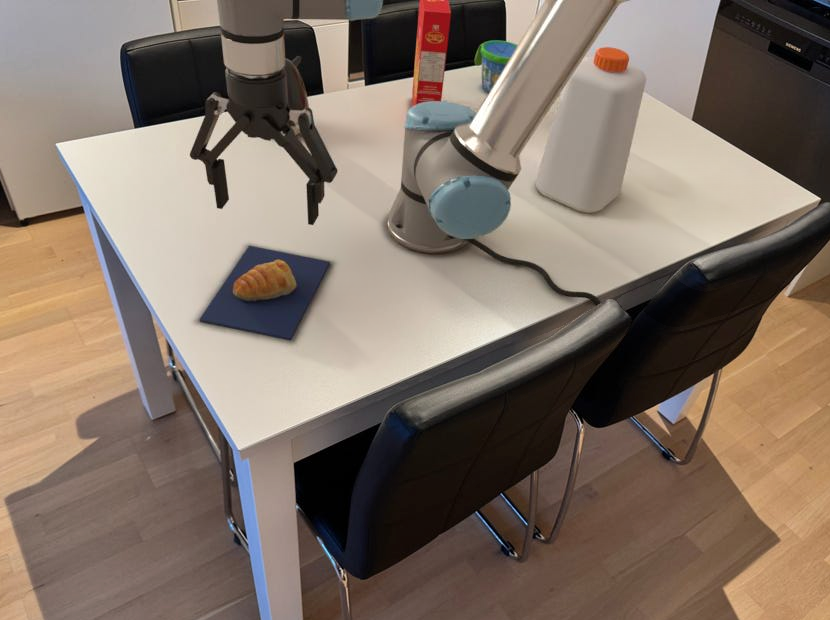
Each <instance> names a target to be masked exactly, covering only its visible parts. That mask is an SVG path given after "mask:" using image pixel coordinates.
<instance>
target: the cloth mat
mask: <svg viewBox="0 0 830 620" xmlns="http://www.w3.org/2000/svg"><path fill="white" fill-rule="evenodd" d="M278 259H279V260H282V261H284V262H286V264H287V265H288V266H289V268H290V269H291V272H292V275H293V276H294V278H295V281H296V288H295V289H294V290H293V291H292V292H291V293H289V294H287V295H281V296H280V297H276V298H272V299H271V298H270V299H268V300H256V301H246V300H243V299H240V298H238V297H237V296H235V295H234V293H233V286H234V282H235V281H237V280H238V278H240V277H241V276H242V275H244V274H246V273H247V272H248V271H250V270H251V269H253V268H254V267H255V266H257V265H262V264H264V263H270V262H274V261H275V260H278ZM330 265H331V261H329V260H328V261H327V260H324V259H320V258H319V259H318V258H314V257H309V256H303V255H298V254H293V253H290V252H289V253H288V252H283V251H278V250H274V249H268V248H263V247H258V246H253V245H248V246H247V248H246V249H245V251H244V252H243V254H242V255H241V257H240V258H239V260H238V261H237V262H236V264H235V266H234V267H233V268H232V270H231V272H230V273H229V274H228V276H227V278H226V279H225V281H224V282H223V284H222V285H221V286H220V288H219V290H218V291H217V293H216V294H215V295H214V297H213V298H212V300H211V302H210V303H209V305H208V306H207V307H206V309H205V310H204V312H203V313H202V315H201V316H200V318H199V322H201V323H205V324H210V325H215V326H220V327H224V328H230V329H235V330H240V331H245V332H248V333H249V332H250V333H253V334H260V335H262V336H263V335H264V336H268V337H273V338H278V339H282V340H287V341H291V340H292V338H293V337H294V335H295V333H296V331H297V329H298V327H299V325H300V323H301V321H302V319H303V317H304V315H305V313H306V311H307V309H308V307H309V305H310V303H311V302H312V299H313V298H314V295H315V293H316V291H317V290H318V288H319V286H320V284H321V282H322V280H323V278H324V276H325V273H326V272H327V270H328V268H329V266H330Z"/></svg>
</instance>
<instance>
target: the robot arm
mask: <svg viewBox="0 0 830 620" xmlns="http://www.w3.org/2000/svg"><path fill="white" fill-rule="evenodd" d="M625 2H630V0H544V1H543V3H542V5H541V6H540V8H539V9H538V11H537V13H536V14H535V16H534V18H533V20H532V21H531V23H530V25H529V26H528V28H527V29H526V31H525V33H524V34H523V36H522V38H521V40H519V42H518V44H517V45H518V46H517V47H516V49H515V51H514V52H513V54H512V56H511V57H510V59H509V61H508V62H507V64H506V66H505V67H504V69H503V70H502V72H501V74H500V75H499V77H498V79H497V80H496V82H495V84H494V85H493V87H492V89H491V90H490V92H488V93H487V95H486V96H485V98H484V100H483V102H482V104H481V105H480V107H479V109H478V110H477V112H476V111H475V110H473V109H472V108H470V107H468V106H466V105H463V104H460V103H456V102H451V101H443V100H441V101H430V102H423V103H419V104H417V105H414V106H412V105H411V107H410V108H409V109H408V111H407V113H406V118H405V124H403V128H404V136H403V137H404V139H403V150H402V165H401V177H400V178H401V179H400V188H399V191H398V193H397V195H396V196H395V199H394V202H393V203H392V205H391V208H390V210H389V212H388V218H387V231H388V234H389V235H390V237H391V238H392V239H393V240H394V241H395V242H396V243H398V244H399V245H401V246H403V247H404V248H407V249H409V250H411V251H412V250H413V251H415V252H419V253H424V254H434V255H435V254H437V255H438V254H446V253H451V252H455V251H457V250H461V249H462V248H463V247H465V246H466V245H467V244H468V243H469V244H472V245H473V246H474V247H476V248H478V249H479V250H481V251H483V252H484V253H486V254H487V255H489V256H490V257H491V258H493V259H495V260H496V261H499V262H502V263H505V264H507V265H512V266H513V265H514V266H520V267H524V268H529V269H531V270H534V271H536V272H537V273H538V274H540V276H542V278H543V279H544V281H545V282H546V284H547V286H548V287H549V288H550V289H551V290H552V291H553V292H554V293H556V294H558V295H560V296H563V297H567V298H578V299H579V298H580V299H582V298H583V299H587V300H589V301H591V302H592V303H593V304H594V306H596V305H598V304H600V303H602V302H601V300H600V299H599V298H598V297H597V296H596V295H594V294H592V293H590V292H587V291H572V290H571V291H570V290H566V289H563V288H561V287H559V286H558V285H557V284H555V282H554V281H553V279H552V277H550V275H549V274H548V272H547V270H545V269H544V268H543V267H541V266H540V265H539V264H536V263H535V262H532V261H529V260H523V259H516V258H511V257H507V256H504V255H501V254H500V253H498V252H496V251H494V250H493V249H492V248H490V247H488V246H487V245H485V244H484V243H483V242H481V241H480V240H477V239H476V238H478V237H480V236H482V237H484V236H487V235H489V234H491V233H493V232H494V231H495V230H497V229H498V228H499V227H501V225H503V224H504V222H505V221H506V219H507V218H508V217H509V214H510V211H511V207H512V201H511V200H512V199H511V192H509V190H510V188H511V187H512V185H513V183H514V182H515V181H516V179H517V177H519V175H520V173H521V171H522V166H521V160H520V155H521V153H523V150H524V149H525V147H526V145H527V144H528V143H529V141H530V140H531V138H532V137H533V135H534V133H535V132H536V131H537V129H538V128H539V126H540V124H542V122H543V120H544V119H545V117H546V116H547V114H548V112H549V111H550V110H551V108H552V107H553V105H554V104H555V102H556V101H557V99H558V97H559V96H560V95H561V93H562V90H563V88H564V87H565V85H566V84H567V82H568V81H569V79H570V78H571V76H572V75H573V73H574V72H575V70H576V69H577V67H578V66H579V64H580V63H581V61H583V60H584V59H585V57H586V55H587V53H588V52H589V51H590V49H591V48H592V46H593V45H594V43H595V42H596V40H597V38H598V37H599V36H600V34H601V32H602V31H603V30H604V28H605V26H606V25H607V24H608V22H609V20H610V19H611V17H612V16H613V15H614V13H615V11H616V10H617V8H618V7H619V5H621V4H623V3H625ZM216 5H217V12H218V21H219V28H220V29H219V30H220V37H221V47H222V58H223V64H224V66H225V67H226V68H225V70H224V73H225V80H226V81H225V83H226V92H227V96H228V98H225V97H222V96H221V94H220V93H219V92H216V91H215V92H213V93H212V94H211V95H210V96H209V97H208V98H207V99H206V100H205V101H204V112H205V113H204V114H205V115H204V117H203V120H202V122H201V125H200V126H199V130H198V132H197V135H196V137H195V140H194V143H193V145H192V147H191V149H190V152H189V157H190V159H192V160H193V161H196V160H199V161H201V162H202V163H203V164H204V167H205V173H206V180H207V183H208V184H209V185H211V186H213V188H214V189H213V190H214V191H213V192H214V197H215V204H216V209H219V210H223V208H224V207H225V206H226V205H227V203H228V202H229V200H230V195H229V189H228V188H229V187H228V180H227V174H226V173H227V172H226V165H225V159H222V158H219V157H220V156H221V155H222V154H223V152H224V151H226V149H227V148H228V147H229V146H230V145H231V144H232V142H233V141H234V140H235V139H236V138H237V137H238V136H239V135H240V134H241V133H243V134H245V135H246V136H247V138H252V139H257V138H259V139H262V140H264V141H268V142H270V141H271V140H274V142H275V143H276V144H277V145H278V146H279V147H280V148H283V149H284V150H285V152H286V153H287V154H288V155H289V156H290V158H291V159H292V160H293V161H294V162H295V164H296V165H297V166H298V168H299V169H300V170H301V171H302V172H303V173H304V175H305V176H306V177H307V178H308V181H307V182H306V185H305V186H306V205H307V206H306V209H307V210H306V211H307V225H310V226H314V225H315V223H316V221H317V219H318V218H319V216H320V214H319V213H320V211H319V204H322V202H323V200H324V198H325V196H326V195H325V183H328V184H330V183H333V181H334V180H335V178H336V175H338V168H337V166H336V164H335V162H334V160H333V158H332V156H331V154H330V153H329V150H328V148H327V146H326V144H325V142H324V141H323V138H322V137H321V135H320V133H319V131H318V129H317V127H316V125H315V119H314V113H313V109H311V108H310V107H309V108H308V107H306V108H304V110H303V111H299V110H291V109H290V107H289V105H288V93H287V76H286V70H285V68H284V66H285V58H286V47H285V28H284V27H285V26H284V20H322V21H323V20H333V21H335V20H336V21H337V20H338V21H341V20H342V21H344V20H345V21H349V22H354V21H356V20H357V21H359V20H368V19H369V20H371V19H374V18H377V17H378V16H379V15H380V13H381V11H382V9H383V5H384V0H216ZM225 111H227V113H228V114H229V116H230V117H231V118H232V120H233V121H234V122H235V123H234V124H233V125H232V126H231V127H230V129H228V131H227V132H226V133H225V134H224V135H223V136H222V138H221V139H220V140H219V141H218V142H217V143H216V145H214V147H213V148H212V149H211V150H209V149H208V148H207V147H208V144H209V142H210V139H211V137H212V135H213V133H214V131H215V127H216V125H217V123H218V121H219V118H220V116H221V115H222V114H223V113H224V112H225ZM290 120H291V121H293V122H294V123H295V125H296V128H297V129H300V133H299V134H300V135H301V137H302V139H303V141H304V143H305V145H306V147H307V148H306V147H305V145H304V144H303V142H302V141H301V140H300V139H299V138H298V137H297V135H295V133H294V130H293V129H292V128H291V126H290V125H289V124H288V122H289V121H290ZM281 131H282V132H283V135H282V134H281Z"/></svg>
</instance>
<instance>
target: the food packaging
mask: <svg viewBox="0 0 830 620" xmlns="http://www.w3.org/2000/svg"><path fill="white" fill-rule="evenodd" d="M451 16H452V11H451V7H450V3H449V0H419V7H418V16H417V17H418V18H417V31H416V43H415V55H414V66H413V67H414V68H413V78H412V79H413V80H412V91H411V107H412V106H414V105H417V104H419V103H423V102H430V101H442V99H443V88H444V80H445V70H446V61H447V51H448V44H449V34H450V27H451V26H450V24H451Z"/></svg>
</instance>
